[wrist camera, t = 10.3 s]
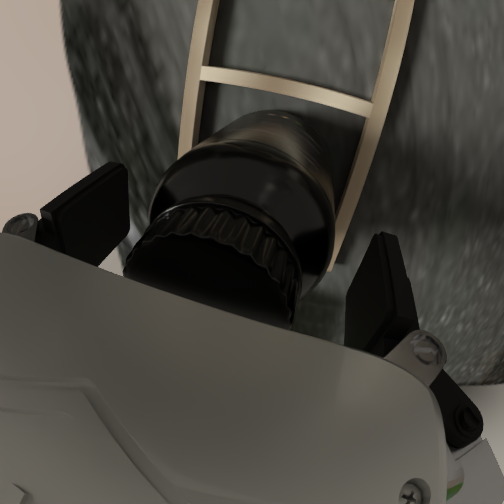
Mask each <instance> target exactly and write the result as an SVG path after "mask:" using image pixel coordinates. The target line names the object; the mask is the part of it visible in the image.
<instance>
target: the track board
mask: <svg viewBox="0 0 504 504" xmlns="http://www.w3.org/2000/svg"><path fill="white" fill-rule="evenodd" d="M414 1H415V0H395V3H394V8H393V13H392V18H391V23H390V27H389V32H388V36H387V40H386V45H385V49H384V53H383V57H382V61H381V65H380V69H379V73H378V77H377V81H376V85H375V88H374V92H373V96H372V99H371V102H370V101H367V100H364V99H361V98H358V97H355V96H352V95H348V94H345V93H342V92H338V91H335V90H331V89H327V88H324V87H320V86H316V85H312V84H308V83H304V82H300V81H296V80H291V79H287V78H282V77H277V76H272V75H267V74H262V73H256V72H250V71H244V70H238V69H231V68H224V67H216V66H208V64H209V58H210V52H211V46H212V40H213V34H214V28H215V23H216V18H217V12H218V7H219V2H220V0H199V1H198V6H197V11H196V17H195V23H194V29H193V35H192V41H191V47H190V54H189V61H188V68H187V75H186V83H185V91H184V99H183V108H182V118H181V128H180V138H179V150H178V159H179V158H180V157H182V156H183V155H184V154H185V153H187V152H188V151H190V150H191V149H192V148H194V147H195V146H197V145H198V139H199V130H200V122H201V114H202V106H203V99H204V91H205V84H206V81H212V82H219V83H226V84H232V85H238V86H244V87H250V88H255V89H260V90H266V91H270V92H275V93H280V94H284V95H289V96H293V97H297V98H301V99H305V100H309V101H313V102H317V103H321V104H325V105H328V106H332V107H335V108H339V109H342V110H345V111H349V112H352V113H355V114H358V115H361V116H364V117H366V121H365V124H364V128H363V131H362V134H361V138H360V141H359V144H358V148H357V151H356V154H355V157H354V160H353V164H352V167H351V170H350V173H349V176H348V179H347V182H346V185H345V188H344V191H343V194H342V197H341V200H340V203H339V206H338V209H337V212H336V215H335V244H334V251H333V256H332V259H331V262H330V265H329V267H328V269H327V271H330V272H331V269H332V267H333V265H334V262H335V260H336V257H337V255H338V252H339V250H340V247H341V245H342V242H343V240H344V237H345V235H346V232H347V229H348V227H349V224H350V221H351V219H352V216H353V213H354V211H355V208H356V205H357V203H358V200H359V197H360V194H361V191H362V189H363V186H364V183H365V180H366V177H367V174H368V171H369V168H370V165H371V162H372V159H373V156H374V153H375V150H376V147H377V144H378V141H379V138H380V135H381V131H382V128H383V125H384V121H385V118H386V115H387V111H388V108H389V105H390V101H391V97H392V94H393V90H394V87H395V83H396V79H397V75H398V72H399V68H400V64H401V60H402V56H403V52H404V47H405V43H406V39H407V34H408V30H409V25H410V21H411V16H412V11H413V6H414Z"/></svg>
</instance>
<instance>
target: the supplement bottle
mask: <svg viewBox="0 0 504 504" xmlns="http://www.w3.org/2000/svg"><path fill="white" fill-rule="evenodd" d="M148 225H149V226H148V228H147V229H146V231H145V233H144V235H143V236H142V238H141V239H140V240H139V241H138V242H137V243H136V244H135V246H134V248H133V250H132V251H131V252H130V254H129V255H128V256H127V258H126V266H125V267H124V269H123V276H124V277H125V278H128V279H131V280H133V281H136V282H139V283H142V284H145V285H147V286H150V287H153V288H156V289H159V290H162V291H165V292H168V293H171V294H173V295H176V296H179V297H182V298H185V299H189V300H192V301H195V302H198V303H201V304H204V305H207V306H210V307H213V308H217V309H220V310H223V311H226V312H229V313H233V314H236V315H239V316H243V317H246V318H249V319H252V320H256V321H259V322H263V323H266V324H269V325H273V326H276V327H280V328H283V329H287V330H291V331H292V326H293V323H294V320H295V315H296V309H297V305H298V303H299V301H300V300H302V299H303V298H304V297H306V296H307V295H308V294H309V293H310V292H311V291H312V290H313V289H314V288H315V287H316V286H317V285H318V284H319V282H320V281H321V280H322V278H323V277H324V275H325V273H326V271H327V269H328V267H329V265H330V262H331V259H332V256H333V251H334V244H335V208H334V190H333V175H332V165H331V159H330V155H329V152H328V149H327V147H326V145H325V143H324V141H323V139H322V138H321V136H320V135H319V134H318V132H317V131H316V130H315V129H314V128H313V127H312V126H311V125H309V124H308V123H307V122H305V121H304V120H302V119H301V118H299V117H297V116H295V115H292V114H290V113H286V112H282V111H276V110H263V111H257V112H253V113H249V114H247V115H244V116H242V117H240V118H238V119H236V120H235V121H233V122H231V123H230V124H228V125H227V126H225V127H224V128H222V129H221V130H219V131H218V132H216V133H214V134H213V135H211V136H210V137H208V138H207V139H206V140H204V141H203V142H201V143H200V144H198V145H197V146H195V147H194V148H192V149H191V150H190V151H188V152H187V153H185V154H184V155H183V156H182V157H180V158H179V159H178V160H177V161H176V162H174V163H173V164H172V165H171V166H170V167H169V168H168V169H167V171H166V172H165V173H164V174H163V176H162V177H161V179H160V180H159V182H158V184H157V186H156V188H155V190H154V192H153V195H152V199H151V202H150V208H149V217H148Z"/></svg>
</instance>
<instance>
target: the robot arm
mask: <svg viewBox="0 0 504 504" xmlns="http://www.w3.org/2000/svg"><path fill="white" fill-rule="evenodd" d="M40 213H41V217H42V218H41V219H40V220H39V221H38V217H37V216H36V215H35V214H32V213H24V214H20V215H17V216H15V217H13V218H11V219H10V220H9V221H8V222H7V223H6V224H5V226H4V227H3V230H2V233H0V504H502V502H503V501H504V476H503V474H502V472H501V469H500V467H499V465H498V462H497V460H496V458H495V456H494V454H493V452H492V449H491V447H490V445H489V443H488V441H487V439H484V440H482V438H481V433H482V431H483V418H482V415H481V413H480V411H479V410H478V408H477V407H476V405H475V404H474V403H473V402H472V401H471V400H470V399H469V398H468V396H467V395H466V394H465V393H464V392H463V391H462V390H461V389H460V387H459V386H458V385H457V384H456V383H455V382H454V381H453V380H452V379H451V378H450V376H449V375H448V374H447V373H446V372H445V371H444V370H443V369H442V368H443V367H444V365H445V363H446V358H447V355H446V351H445V348H444V346H443V344H442V343H441V342H440V340H439V339H438V338H437V337H436V336H434V335H433V334H431V333H429V332H427V331H424V330H420V329H419V323H418V317H417V312H416V307H415V302H414V297H413V292H412V288H411V283H410V280H409V278H408V277H407V274H406V270H405V266H404V262H403V258H402V254H401V250H400V246H399V242H398V238H397V236H395V235H392V234H389V233H386V232H381V233H380V234H374V236H373V238H372V240H371V242H370V245H369V247H368V249H367V251H366V253H365V256H364V258H363V260H362V262H361V264H360V266H359V268H358V270H357V273H356V275H355V277H354V279H353V281H352V283H351V285H350V287H349V289H348V292H347V295H346V312H345V337H344V345H341V344H338V343H334V342H331V341H327V340H324V339H320V338H316V337H313V336H309V335H305V334H301V333H298V332H294V331H291V330H287V329H283V328H280V327H276V326H273V325H269V324H266V323H263V322H259V321H256V320H252V319H249V318H246V317H243V316H239V315H236V314H233V313H229V312H226V311H223V310H220V309H217V308H213V307H210V306H207V305H204V304H201V303H198V302H195V301H192V300H189V299H185V298H182V297H179V296H176V295H173V294H171V293H168V292H165V291H162V290H159V289H156V288H153V287H150V286H147V285H145V284H142V283H139V282H136V281H133V280H131V279H128V278H125V277H123V276H120V275H117V274H114V273H112V272H109V271H106V270H104V269H101V268H99V267H98V266H99V265H100V264H101V263H102V261H103V260H104V259H105V258H106V257H107V256H108V255H109V254H110V253H111V252H112V251H113V250H114V248H115V247H116V246H117V245H118V244H119V243H120V242H121V241H122V240H123V239H124V238H125V237H126V236H127V235H128V233H129V230H130V216H129V197H128V171H127V169H126V168H125V166H124V165H123V164H121V163H116V162H108V163H106V164H105V165H103V166H101V167H100V168H98V169H97V170H95V171H94V172H92V173H91V174H89V175H88V176H86V177H85V178H83V179H82V180H80V181H79V182H77V183H76V184H74V185H73V186H71V187H70V188H68V189H67V190H66V191H64V192H63V193H61V194H60V195H58V196H57V197H56V198H54V199H53V200H52V201H51V202H49V203H48V204H46V205H45V206H44V207H42V208H41V209H40Z"/></svg>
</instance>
